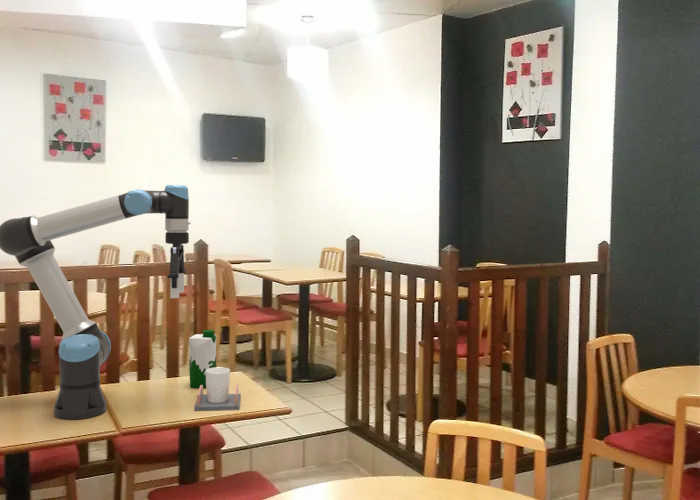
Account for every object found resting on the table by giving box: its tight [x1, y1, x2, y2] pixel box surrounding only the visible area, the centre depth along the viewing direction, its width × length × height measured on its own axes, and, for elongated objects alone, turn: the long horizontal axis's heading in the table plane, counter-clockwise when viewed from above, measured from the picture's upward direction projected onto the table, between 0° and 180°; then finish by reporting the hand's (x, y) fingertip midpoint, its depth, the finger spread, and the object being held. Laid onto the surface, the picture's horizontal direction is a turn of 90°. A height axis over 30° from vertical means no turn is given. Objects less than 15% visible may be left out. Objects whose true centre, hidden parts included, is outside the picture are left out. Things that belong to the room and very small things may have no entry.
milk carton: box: [188, 329, 218, 389], centre depth 244 cm, size 9×9×20 cm
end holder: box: [193, 383, 242, 412], centre depth 223 cm, size 14×14×5 cm
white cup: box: [205, 366, 231, 403], centre depth 222 cm, size 8×8×10 cm
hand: (177, 295), depth 227 cm, fingers open, 13 cm apart
